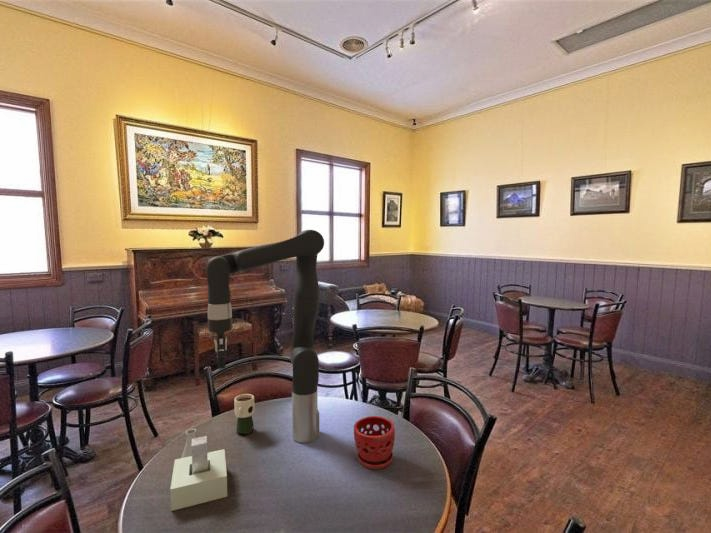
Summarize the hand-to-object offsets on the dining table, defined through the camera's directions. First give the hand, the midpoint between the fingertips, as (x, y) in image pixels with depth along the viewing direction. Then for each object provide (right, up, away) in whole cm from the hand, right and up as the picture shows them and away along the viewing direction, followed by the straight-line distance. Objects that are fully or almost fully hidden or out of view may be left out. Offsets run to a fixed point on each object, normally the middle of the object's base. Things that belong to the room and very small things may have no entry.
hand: (221, 364), depth 120 cm
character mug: (+4, -29, +14) cm, 33 cm away
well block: (0, -31, -16) cm, 35 cm away
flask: (-8, -31, -4) cm, 32 cm away
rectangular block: (0, -31, -16) cm, 35 cm away
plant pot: (+51, -31, -4) cm, 60 cm away
